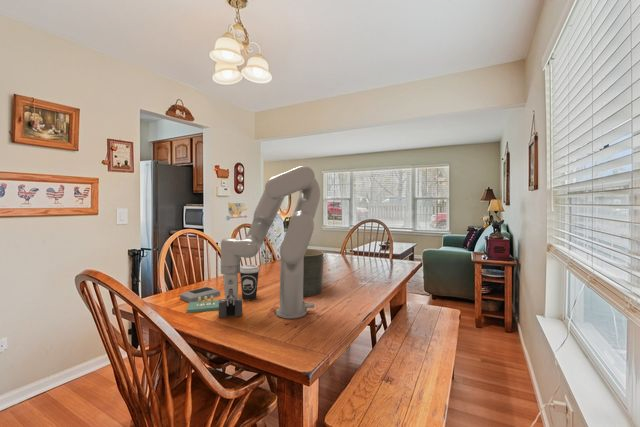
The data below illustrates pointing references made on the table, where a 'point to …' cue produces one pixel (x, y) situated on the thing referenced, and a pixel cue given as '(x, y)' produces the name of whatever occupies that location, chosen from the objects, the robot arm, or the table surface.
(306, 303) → the robot arm
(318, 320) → the table surface
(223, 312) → the block
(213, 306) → the board
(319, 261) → the planter
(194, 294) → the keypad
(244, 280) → the coffee cup
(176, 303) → the table surface
